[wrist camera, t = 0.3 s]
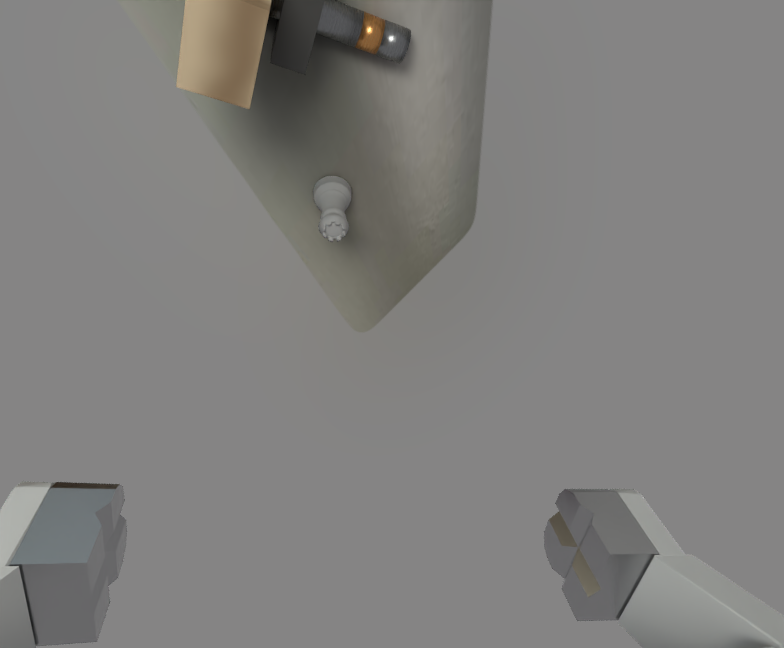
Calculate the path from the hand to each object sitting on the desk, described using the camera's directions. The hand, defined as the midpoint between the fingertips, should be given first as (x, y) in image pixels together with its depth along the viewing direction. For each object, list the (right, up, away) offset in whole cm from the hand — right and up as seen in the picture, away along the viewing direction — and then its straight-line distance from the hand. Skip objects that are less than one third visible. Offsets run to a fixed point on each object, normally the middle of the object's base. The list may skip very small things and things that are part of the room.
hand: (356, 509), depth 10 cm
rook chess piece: (-6, +19, +53) cm, 57 cm away
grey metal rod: (-5, +32, +40) cm, 51 cm away
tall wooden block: (-12, +33, +37) cm, 51 cm away
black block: (-8, +32, +39) cm, 51 cm away
